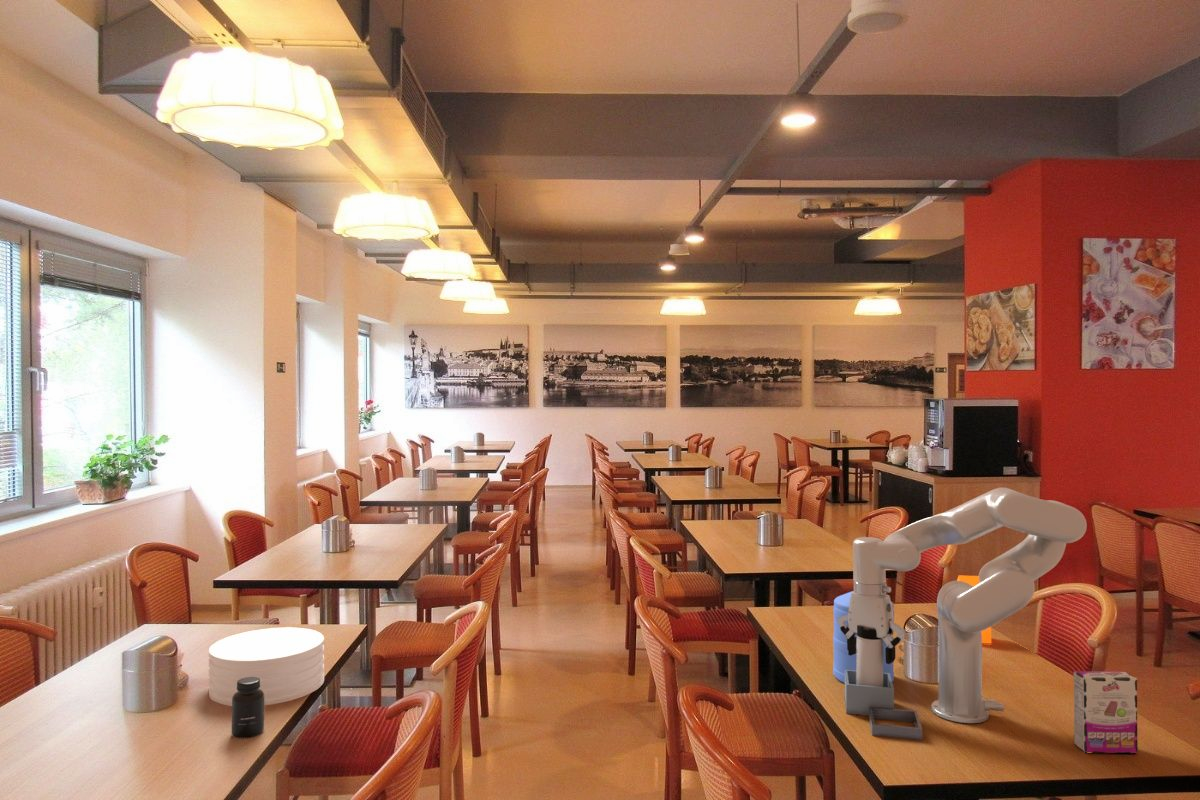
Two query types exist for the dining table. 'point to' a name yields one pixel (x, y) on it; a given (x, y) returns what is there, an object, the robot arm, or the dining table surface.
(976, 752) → the dining table surface
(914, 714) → the metal collar
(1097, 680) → the candy bar box
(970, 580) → the orange juice
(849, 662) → the water jug
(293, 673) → the plate stack
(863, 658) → the travel mug
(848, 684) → the grey bin
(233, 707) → the supplement bottle
